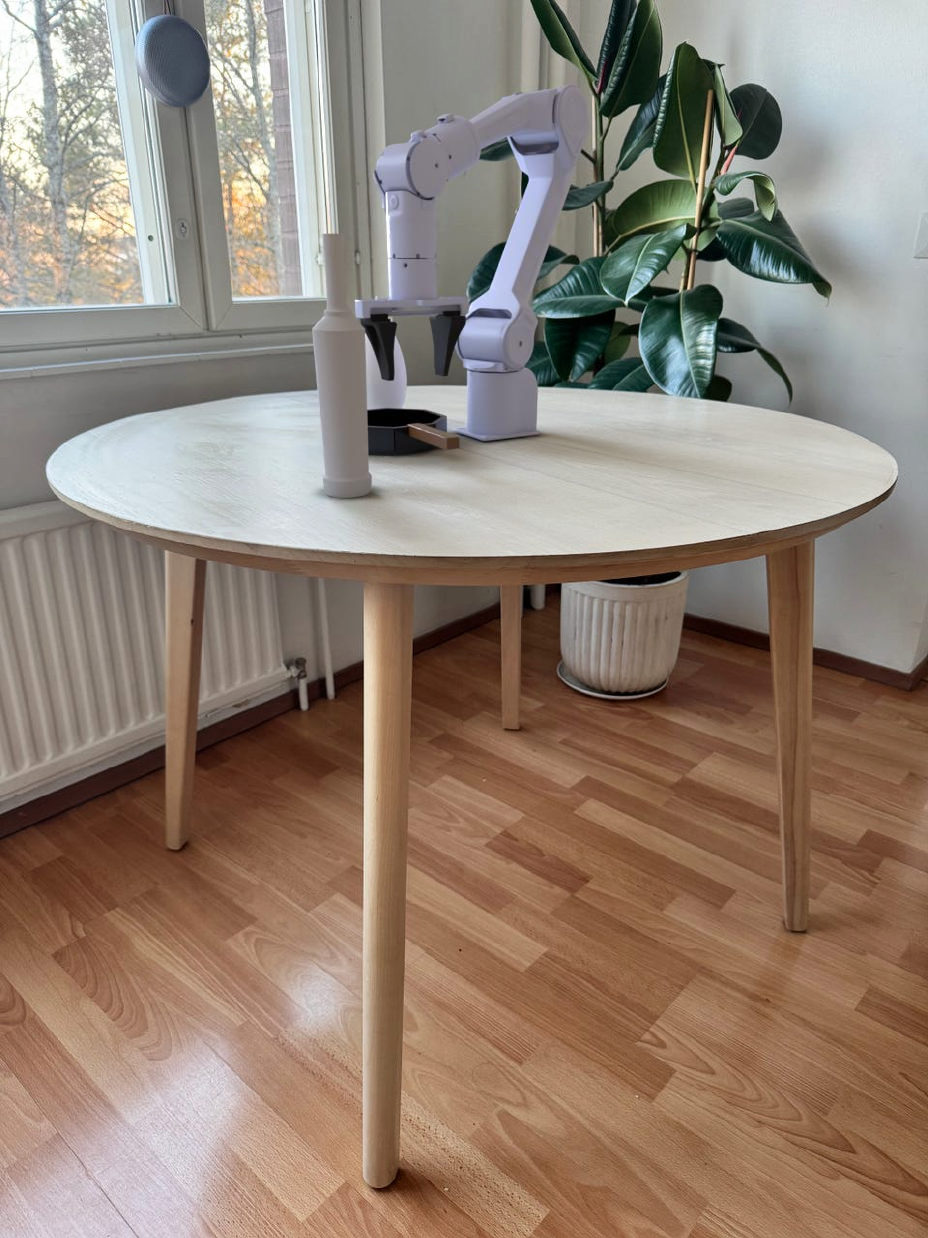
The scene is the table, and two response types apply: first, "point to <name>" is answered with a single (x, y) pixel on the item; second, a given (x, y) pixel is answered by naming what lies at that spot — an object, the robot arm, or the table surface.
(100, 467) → the table surface
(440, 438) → the pan
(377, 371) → the sauce bottle
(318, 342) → the bottle
